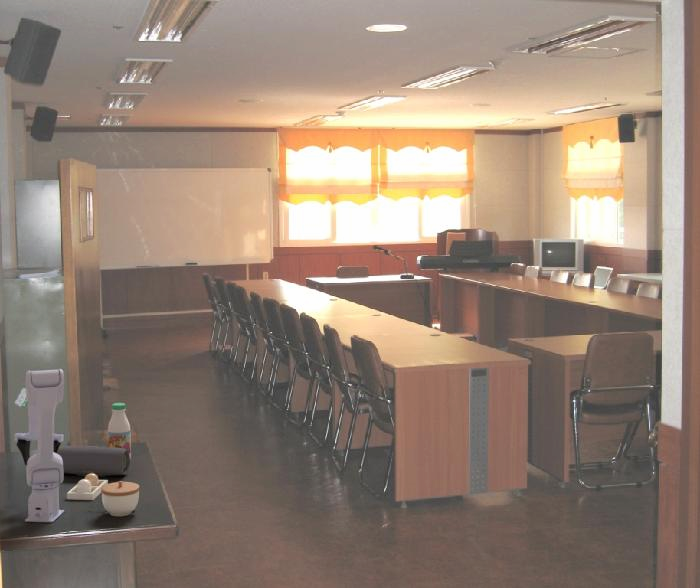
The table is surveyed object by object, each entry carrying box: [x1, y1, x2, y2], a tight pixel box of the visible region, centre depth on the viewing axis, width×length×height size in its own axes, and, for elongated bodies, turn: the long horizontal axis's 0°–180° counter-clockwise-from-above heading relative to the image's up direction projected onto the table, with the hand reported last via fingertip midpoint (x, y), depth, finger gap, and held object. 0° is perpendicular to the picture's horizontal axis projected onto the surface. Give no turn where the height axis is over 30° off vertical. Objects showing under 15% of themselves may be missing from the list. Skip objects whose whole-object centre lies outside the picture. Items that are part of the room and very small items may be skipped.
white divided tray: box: [66, 479, 109, 501], centre depth 299 cm, size 14×8×2 cm, turn 176°
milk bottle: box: [107, 402, 132, 460], centre depth 335 cm, size 8×8×20 cm
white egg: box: [76, 478, 92, 493], centre depth 295 cm, size 4×4×5 cm
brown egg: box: [84, 473, 99, 486], centre depth 302 cm, size 4×4×5 cm
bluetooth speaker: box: [57, 445, 131, 477], centre depth 317 cm, size 23×9×10 cm, turn 84°
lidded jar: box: [101, 480, 140, 517], centre depth 281 cm, size 11×11×9 cm
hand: (39, 464), depth 294 cm, fingers open, 7 cm apart
